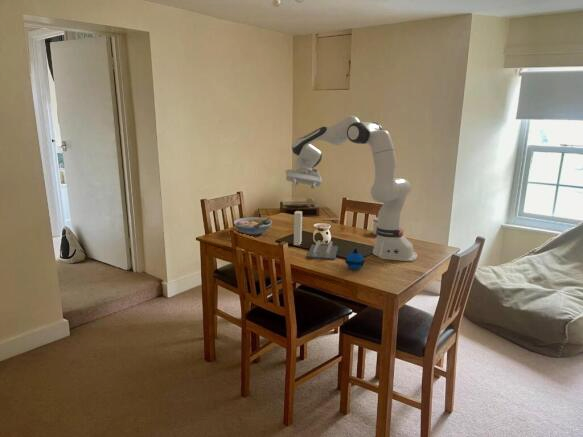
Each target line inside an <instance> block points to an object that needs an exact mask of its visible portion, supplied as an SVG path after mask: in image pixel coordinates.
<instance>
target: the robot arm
mask: <svg viewBox="0 0 583 437" xmlns="http://www.w3.org/2000/svg"><path fill="white" fill-rule="evenodd" d="M316 141H323V142H326V143H330V144H331V145H335V146H340V145H343V144H345V143H346V142H348V141H350V142H352V143H354V144H358V145H359V144H360V145H362V144H364V145H367V144H368V146H370V150H371V154H372V159H373V164H374V181H373V184H372V186H371V189H370V196H371V199H373V200H374V201H375V202H376V203H377V202H378V203H383V204H382V206H381V208H380V209H379V210H378V214H377V217H378V226H377V228H376V235H375V242H374V243H375V244H374V247H373V250H372V254H373V255H375V256H376V257H377V258H379V259H381V260H392V261H400V262H401V261H402V262H413V261H416V260H417V259H418V253H417V252H415V251H414V246H413V243H412V242H411V241H409V239H407V237H406V236H404V229H403V228H400V227H401V226H400V225H401V218H402V217H401V215H402V211H403V207H404V204H405V202H406V199H407V197H408V196H409V195H410V194H411V190H412V186H411V184H410V182H409V180H407V179H404V178H399V177H397V178H395V174H396V172H395V171H396V170H397V167H398V161H397V156H396V155H397V154H396V152H395V146H394V142H393V140H392V137H391V135H390V133H389V131H388V130H385V129H383V126H382V125H381V124H379V123H377V122H374V121H371V122H369V121H360V119H359V118H358V117H357V116H355V115H351V114H350V115H348V116H345V117H344V118H342V119H340V120H339V121H337V122H336V123H335V124H333V125H329V126H321V127H319V128H316V129H315V130H314V131H311V132H310V133H308V134H306V135H304V136H303V137H299V138H297V139H296V140H294V142H293V143H292V144H291V149H292V150H291V151H292V153H293V154H294V155H295V156H296V157H295V159H294V160H295V161H294V168H295V169H286V170H285V174H286V176H285V180H286V181H287V182H291V183H293V184H294V186H298V184H303V185H309V186H310V188H311V189H313V190H314V189H315V187H319V188H320V187H321V185H322V182H323V181H322V180H323V179H322V176H321V175H320V171H319V170H318V169H315V167H317V166H318V165H319V164H320V163H321V161H322V158H323V153H322V151H321V150H320V149H319V148H317V147H316V146H314V145H313V144H312V143H314V142H316Z"/></svg>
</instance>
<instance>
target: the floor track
mask: <svg viewBox="0 0 583 437" xmlns="http://www.w3.org/2000/svg"><path fill="white" fill-rule="evenodd" d="M338 249H339V246H338V245H333V241H332V240H330V241H329V243H328V245H327V244H321V240H319V239H318V240H317V242H316V243H315V244H314V243H313V244H311V246H310V247H309V251H308V253H307V255H306V259H316V260H317V259H318V260H331V261H335V260H336V257H337V252H338Z"/></svg>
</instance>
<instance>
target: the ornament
mask: <svg viewBox="0 0 583 437" xmlns="http://www.w3.org/2000/svg"><path fill="white" fill-rule="evenodd" d="M364 263H365V258H364V256H363V255H362V254H361V252H358V249H357V248H354V250H353V251H352V252H350V253H349V254H347V256H346V257H345V264H346V266H347V267H348V268H349V269H351V270H353V271H356V270H359V269H361V268H362V267H363V266H364Z"/></svg>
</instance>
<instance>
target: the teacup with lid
mask: <svg viewBox="0 0 583 437" xmlns="http://www.w3.org/2000/svg"><path fill="white" fill-rule="evenodd" d="M372 226H373V228H372V234H373V235H375V236H376V228H377V226H378V216H377V217H374V218H373V225H372Z"/></svg>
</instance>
